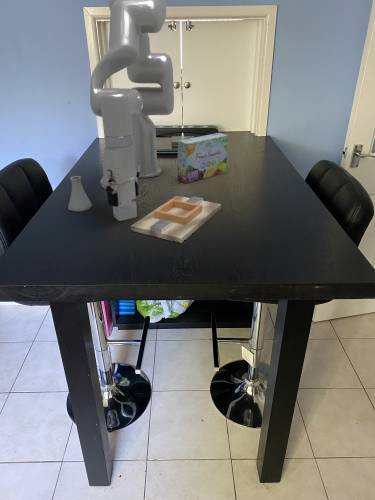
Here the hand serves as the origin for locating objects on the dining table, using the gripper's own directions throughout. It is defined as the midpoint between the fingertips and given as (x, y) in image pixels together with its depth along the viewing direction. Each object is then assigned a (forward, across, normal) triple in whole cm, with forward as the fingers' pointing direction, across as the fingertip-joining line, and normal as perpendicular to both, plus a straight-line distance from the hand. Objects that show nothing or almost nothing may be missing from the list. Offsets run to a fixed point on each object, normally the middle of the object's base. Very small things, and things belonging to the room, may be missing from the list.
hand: (123, 200), depth 111 cm
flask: (+6, +1, -17) cm, 18 cm away
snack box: (+5, -45, +4) cm, 46 cm away
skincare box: (+6, 0, 0) cm, 6 cm away
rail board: (+5, -6, +15) cm, 17 cm away
